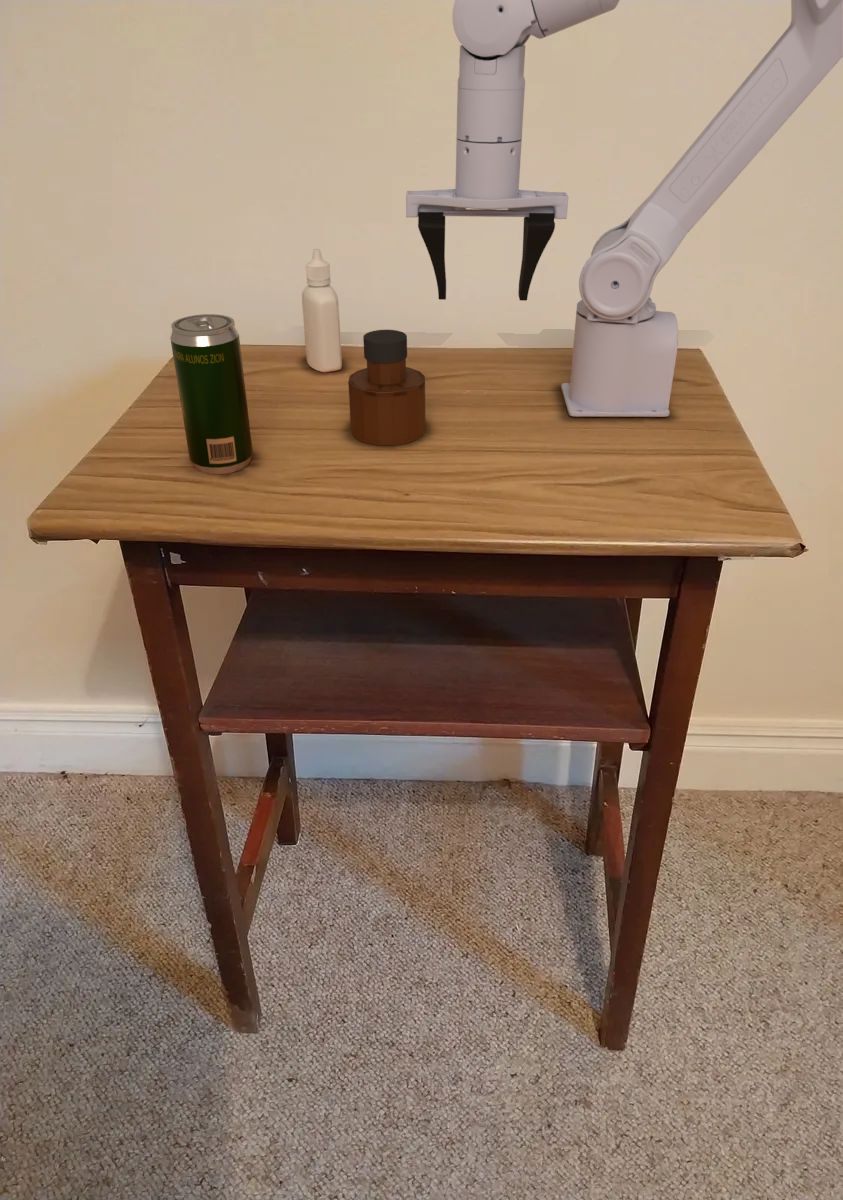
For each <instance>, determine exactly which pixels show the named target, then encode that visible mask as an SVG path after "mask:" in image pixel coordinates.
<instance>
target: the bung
mask: <svg viewBox="0 0 843 1200" xmlns="http://www.w3.org/2000/svg"><path fill="white" fill-rule="evenodd" d="M362 337H363V339H362V340H363V357H364V359H365V360H366V361H367V360H368V361H370V362H375V363H395V362H399V361H402V360H404V359H406V360H407V357H408V334H407V333H405V332H403V331H401V330H396V329H377V330H372V331H371V330H370V331H368V332H366V333H365V334H364V335H363V336H362Z"/></svg>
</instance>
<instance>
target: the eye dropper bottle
mask: <svg viewBox="0 0 843 1200" xmlns="http://www.w3.org/2000/svg"><path fill="white" fill-rule="evenodd" d="M305 271H306V272H305V273H306V284H307V285H306V286H305V287H304V288H303V289H302V292H301V304H302V318H303V319H302V320H303V331H304V343H305V354H306V355H305V357H306V358H305V359H306V362H307V364H308V366H309V367H310V368H312V369H313V370H316V371H318V372H320V373H329V372H330V373H331V372H335V371H340V370H341V369H342V367H343V361H342V360H343V357H342V339H341V323H340V322H341V321H340V306H339V305H340V304H339V297H338V294H337V292H336V291H335V289H334V288H333V286H332V285H331V267H330V263H329V262H328V261H325V260H324V259H323V256H322V251H321V249H319V248H314V249H313V250H312V258H311V260H310V261H309V262H307V263H306V264H305Z"/></svg>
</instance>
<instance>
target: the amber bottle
mask: <svg viewBox="0 0 843 1200" xmlns="http://www.w3.org/2000/svg"><path fill="white" fill-rule="evenodd" d="M347 382H348V398H349V399H348V400H349V419H350V421H349V422H350V431H351V435H352V436H353V437H354V439H356V440H357V441H359V442H362V443H364V444H368V445H374V446H382V447H383V446H384V447H385V446H386V447H387V446H388V447H389V446H401V445H406V444H408V443H412V442H415V441H417V440H419V439H421V438H422V437H423V436H424V434H425V432H426V375H425V374H424V373H422V372H421V371H420V370H418V369H415V368H413V367H412V368H411V367H408V366H407V358H406V359H404V360H402V361H399V362H395V363H375V362H370V361H368V360H366V368H365V367H364V368H362V369H359V370H356V371H355V372H353V373H352V374H350V375H349V376H348V381H347Z"/></svg>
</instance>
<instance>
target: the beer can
mask: <svg viewBox="0 0 843 1200" xmlns="http://www.w3.org/2000/svg"><path fill="white" fill-rule="evenodd" d="M235 325H236V323H235V320H234V318H233V317H230V316H228V315H223V314H216V313H215V314H214V313H211V314H210V313H206V314H205V313H203V314H194V315H187V316H185V317H181V318H178V319H176V320H174V321H173V322H172V323H171V326H170V327H171V333H170V336H169V339H170V345H171V351H172V358H173V364H174V369H175V375H176V382H177V386H178V387H177V389H178V395H179V401H180V406H181V413H182V419H183V425H184V431H185V432H184V433H185V438H186V444H187V450H188V457H189V461H190V462H191V464H192V465H193V467H194V468H195V469H196V470H197V471H198V472H201V473H204V474H208V475H209V474H210V475H225V474H231V473H234V472H235V473H236V472H239V471H240V470H243V469H245V468H246V467H247V466H248V465H250V462H251V460H252V456H253V451H254V449H253V442H252V434H251V425H250V424H251V423H250V418H249V417H250V416H249V409H248V400H247V391H246V382H245V375H244V365H243V358H242V349H241V341H240V340H241V339H240V334H239V331H238V329H237V328H236V326H235Z"/></svg>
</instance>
